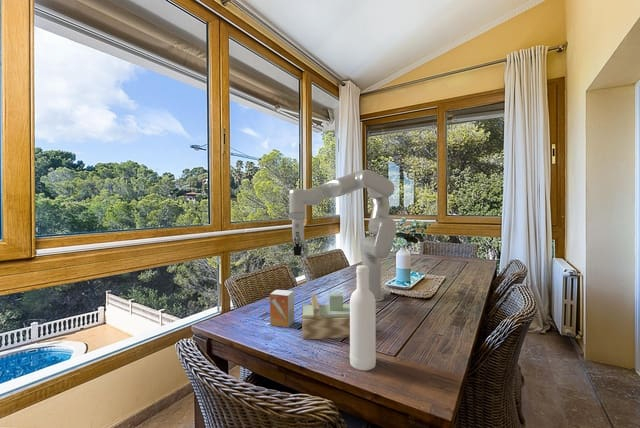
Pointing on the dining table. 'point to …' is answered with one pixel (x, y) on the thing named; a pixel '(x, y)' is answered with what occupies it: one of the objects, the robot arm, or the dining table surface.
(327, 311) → the lid
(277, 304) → the small box
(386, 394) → the dining table surface
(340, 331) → the toolbox
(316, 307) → the key
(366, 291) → the bottle
